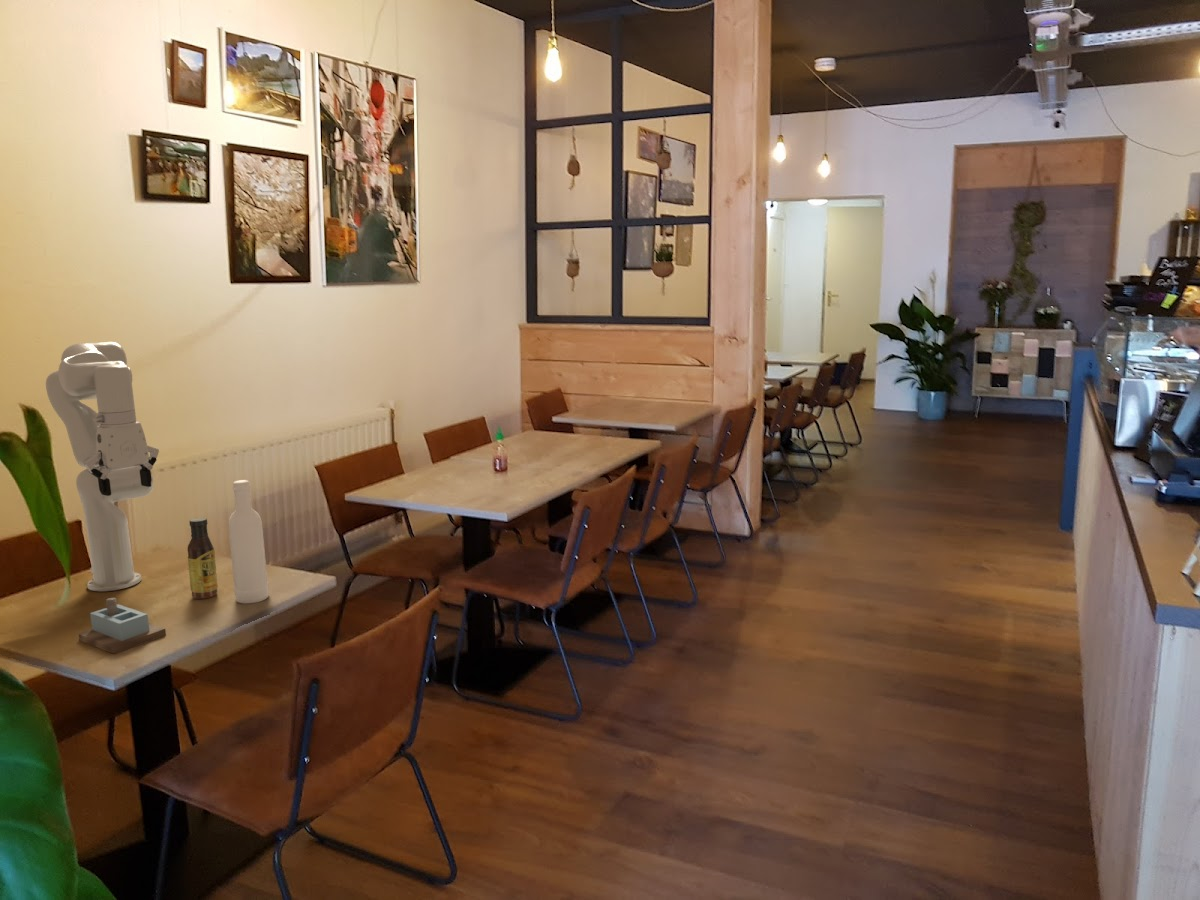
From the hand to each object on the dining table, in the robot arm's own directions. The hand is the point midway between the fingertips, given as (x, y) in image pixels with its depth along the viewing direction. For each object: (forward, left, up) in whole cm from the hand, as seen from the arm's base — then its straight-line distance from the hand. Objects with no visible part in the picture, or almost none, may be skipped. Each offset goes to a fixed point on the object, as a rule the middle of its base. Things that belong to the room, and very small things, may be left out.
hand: (126, 490), depth 214 cm
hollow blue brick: (+10, -11, -29) cm, 32 cm away
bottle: (+15, +20, -31) cm, 39 cm away
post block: (+11, -11, -30) cm, 34 cm away
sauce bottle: (+3, +15, -31) cm, 34 cm away
